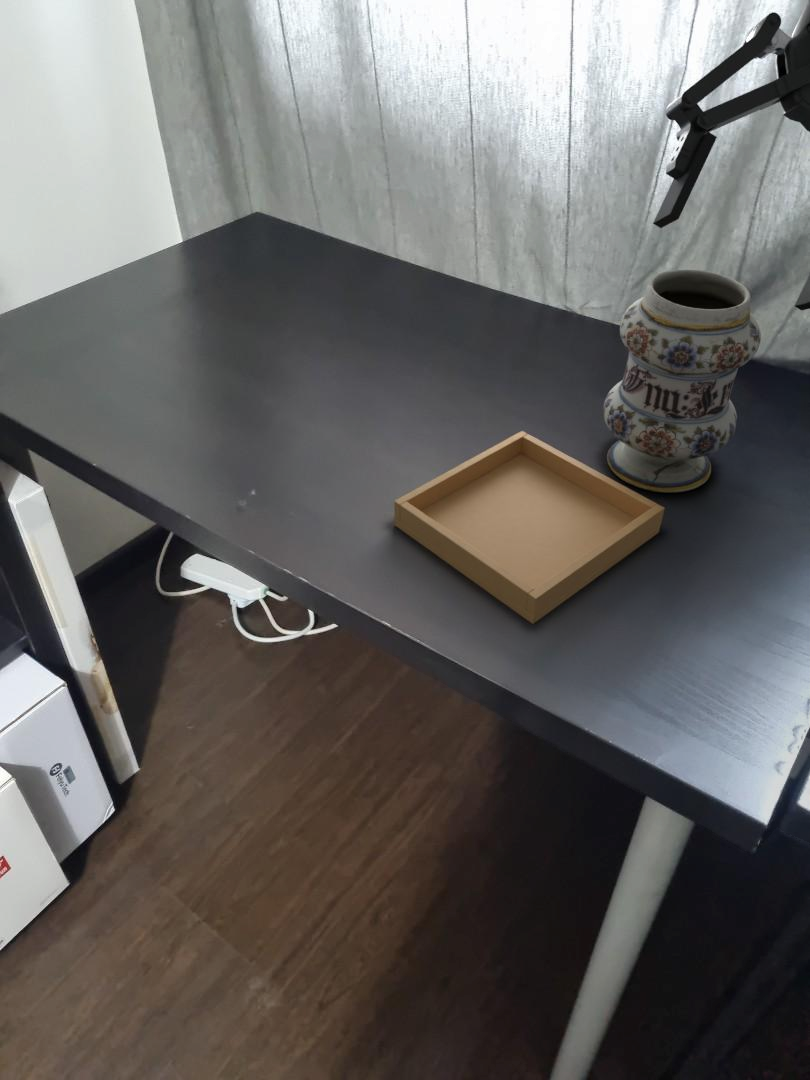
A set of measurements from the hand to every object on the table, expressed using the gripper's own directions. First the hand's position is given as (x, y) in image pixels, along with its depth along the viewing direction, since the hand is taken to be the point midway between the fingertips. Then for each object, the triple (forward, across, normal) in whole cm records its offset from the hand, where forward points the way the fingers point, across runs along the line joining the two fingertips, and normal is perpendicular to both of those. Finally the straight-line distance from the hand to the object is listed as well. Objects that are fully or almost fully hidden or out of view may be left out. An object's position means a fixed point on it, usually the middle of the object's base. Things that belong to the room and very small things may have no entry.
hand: (738, 265), depth 63 cm
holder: (+25, +3, -11) cm, 27 cm away
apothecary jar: (+13, -9, -16) cm, 23 cm away
